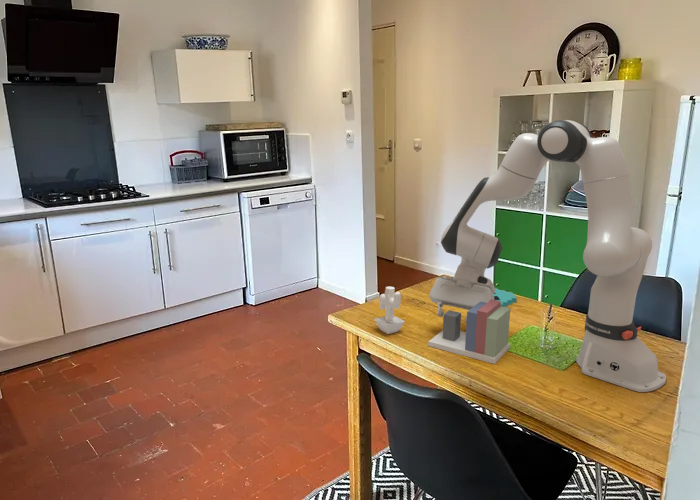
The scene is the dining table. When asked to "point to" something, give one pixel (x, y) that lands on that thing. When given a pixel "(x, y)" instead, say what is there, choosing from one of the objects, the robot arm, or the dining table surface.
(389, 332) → the figurine
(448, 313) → the bookend block
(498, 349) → the shelf board
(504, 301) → the alien figure
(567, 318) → the dining table surface
